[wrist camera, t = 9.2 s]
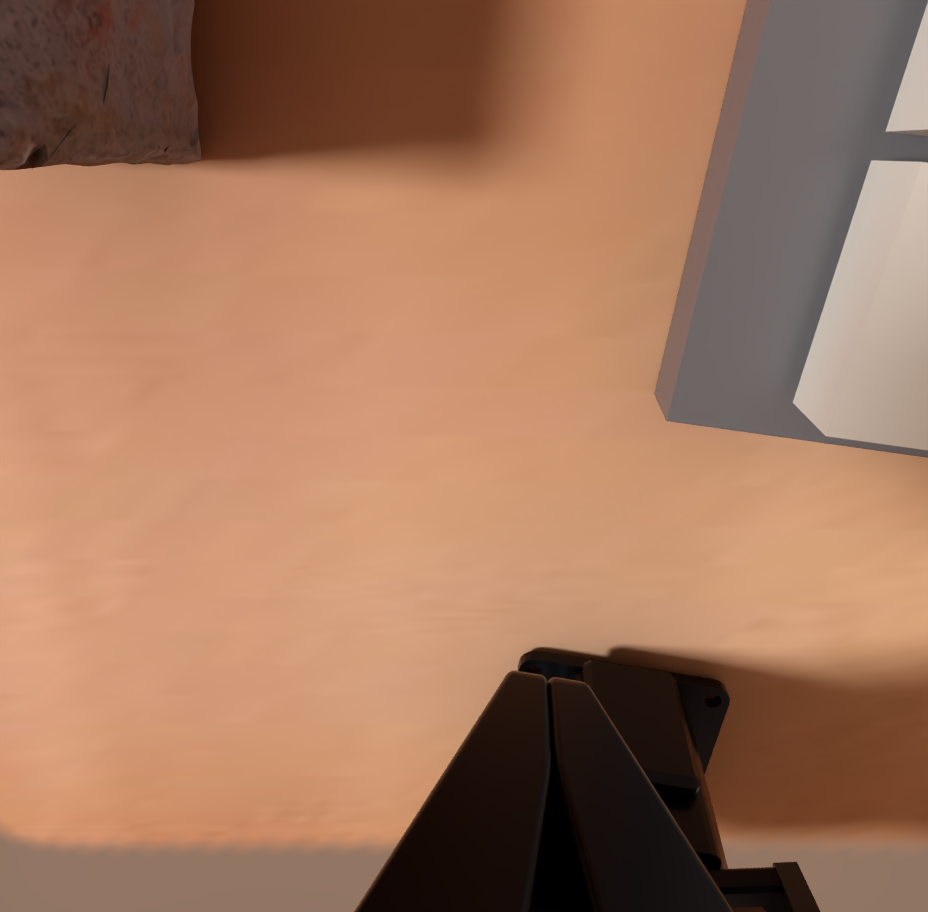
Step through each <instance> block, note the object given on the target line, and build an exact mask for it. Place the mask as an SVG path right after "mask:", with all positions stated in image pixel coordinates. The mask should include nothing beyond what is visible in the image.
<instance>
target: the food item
mask: <svg viewBox="0 0 928 912" xmlns="http://www.w3.org/2000/svg"><path fill="white" fill-rule="evenodd" d="M194 6H195V2H194V0H0V170H18V169H27V168H36V167H44V166H52V165H60V164H71V165H81V166H97V165H105V164H112V163H129V164H143V163H155V164H163V165H171V164H178V163H189V162H193V161H197V160H200V159H202V157H201V149H200V142H199V131H198V102H197V97H196V93H195V89H194V82H193V74H192V66H191V28H192V18H193V12H194Z"/></svg>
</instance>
